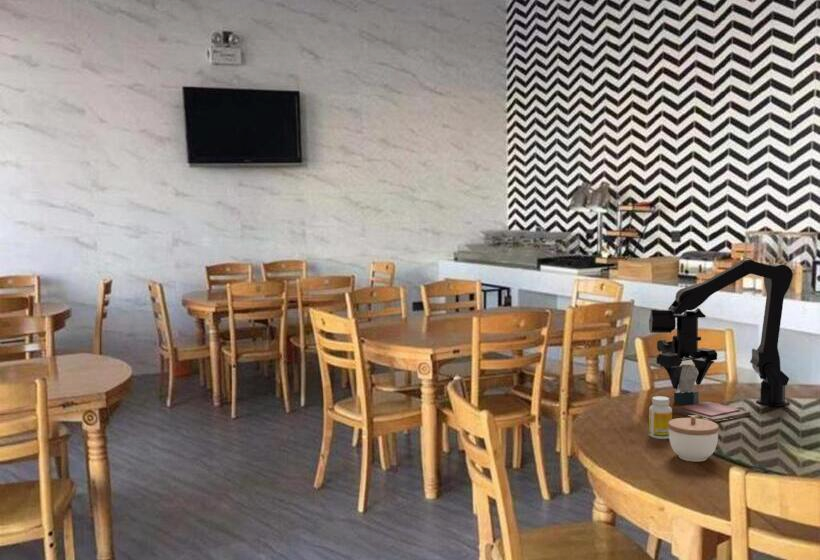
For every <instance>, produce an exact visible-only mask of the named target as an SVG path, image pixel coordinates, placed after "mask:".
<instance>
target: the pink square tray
mask: <svg viewBox="0 0 820 560" xmlns="http://www.w3.org/2000/svg"><path fill="white" fill-rule="evenodd" d="M671 409H672V413H675V414H679V415H683V416H685V417H689V416H688V415H698V416H702V417H704V418H708V419H711V420H713V421H715V420H723V419H730V418H736V419H739V418H738V417H741V418H745V417H749V416H751V412H750V411H748V410H743V409H740V408H736V407H731V406H728V405H724V404H720V403H715V402H711V401H702V402H698V403H696V404H691V405H682V406H676V407H671Z"/></svg>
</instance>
